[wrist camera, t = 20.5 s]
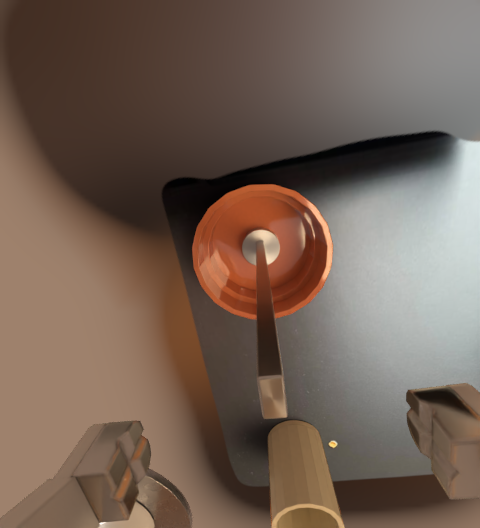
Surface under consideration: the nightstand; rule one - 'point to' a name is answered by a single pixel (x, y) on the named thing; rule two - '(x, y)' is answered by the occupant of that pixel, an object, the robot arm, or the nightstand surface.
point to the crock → (300, 479)
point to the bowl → (281, 270)
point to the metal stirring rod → (266, 324)
